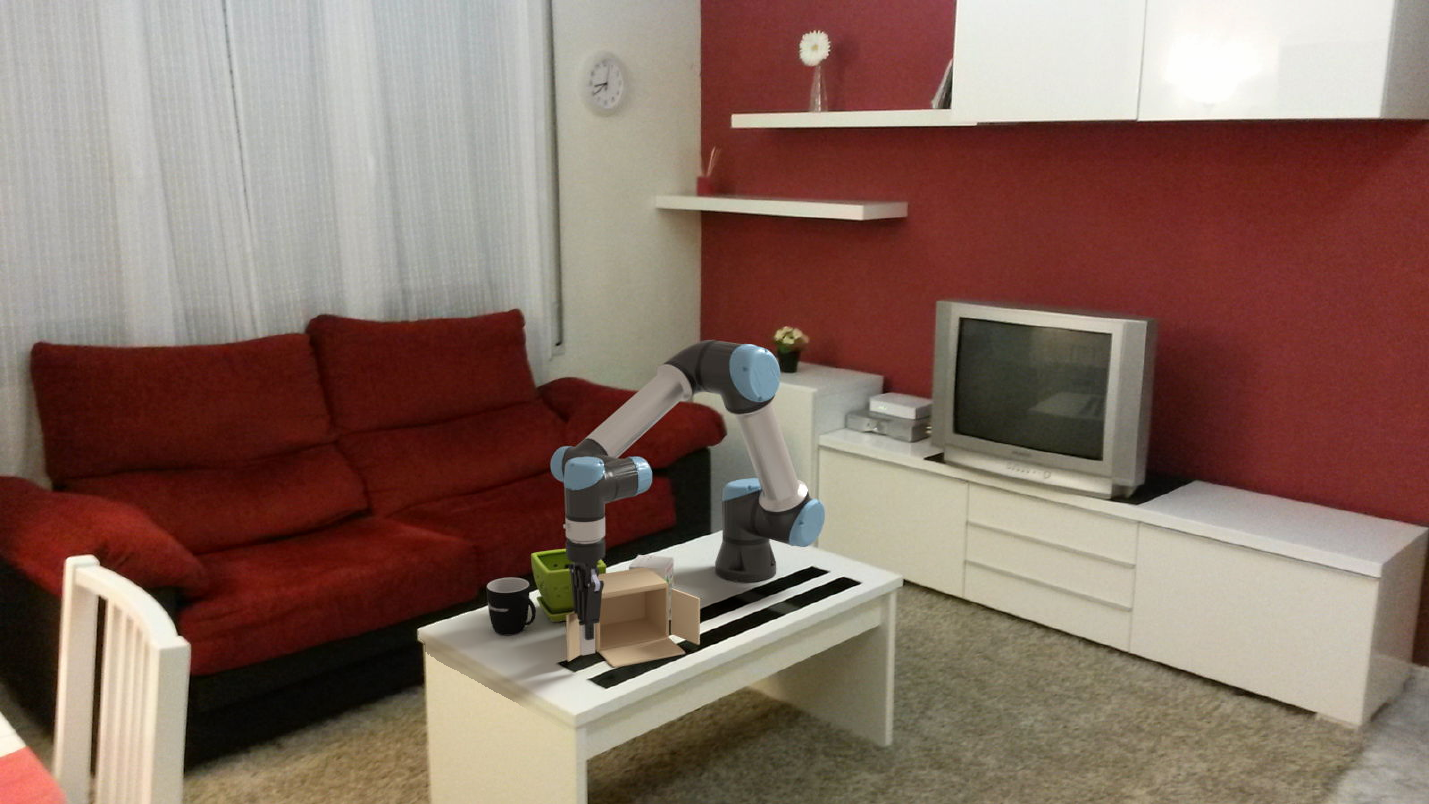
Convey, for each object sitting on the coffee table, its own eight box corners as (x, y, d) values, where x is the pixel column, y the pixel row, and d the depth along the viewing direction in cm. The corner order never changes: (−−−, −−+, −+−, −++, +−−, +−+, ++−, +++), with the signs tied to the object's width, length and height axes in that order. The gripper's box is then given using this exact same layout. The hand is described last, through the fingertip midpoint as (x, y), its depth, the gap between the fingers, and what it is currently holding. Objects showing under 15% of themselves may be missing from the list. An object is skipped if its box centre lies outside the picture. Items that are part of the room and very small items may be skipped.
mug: (479, 631, 241) (477, 586, 239) (508, 618, 248) (507, 574, 246) (521, 644, 234) (519, 598, 232) (549, 630, 242) (548, 585, 240)
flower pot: (546, 628, 243) (545, 572, 240) (530, 606, 255) (528, 552, 253) (608, 619, 248) (608, 563, 246) (589, 597, 261) (589, 544, 258)
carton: (660, 616, 250) (660, 562, 248) (700, 650, 232) (701, 593, 230) (577, 631, 241) (576, 576, 239) (612, 668, 224) (612, 609, 221)
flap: (569, 661, 223) (568, 615, 221) (567, 661, 223) (566, 615, 222) (593, 647, 230) (593, 602, 228) (591, 646, 230) (591, 602, 228)
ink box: (665, 619, 248) (665, 569, 246) (627, 616, 250) (627, 566, 248) (674, 605, 257) (674, 556, 254) (638, 602, 258) (637, 553, 256)
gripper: (555, 531, 221) (558, 644, 226) (578, 550, 210) (581, 669, 214) (591, 525, 224) (593, 637, 229) (616, 545, 213) (617, 661, 218)
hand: (587, 652), depth 222 cm, fingers closed
